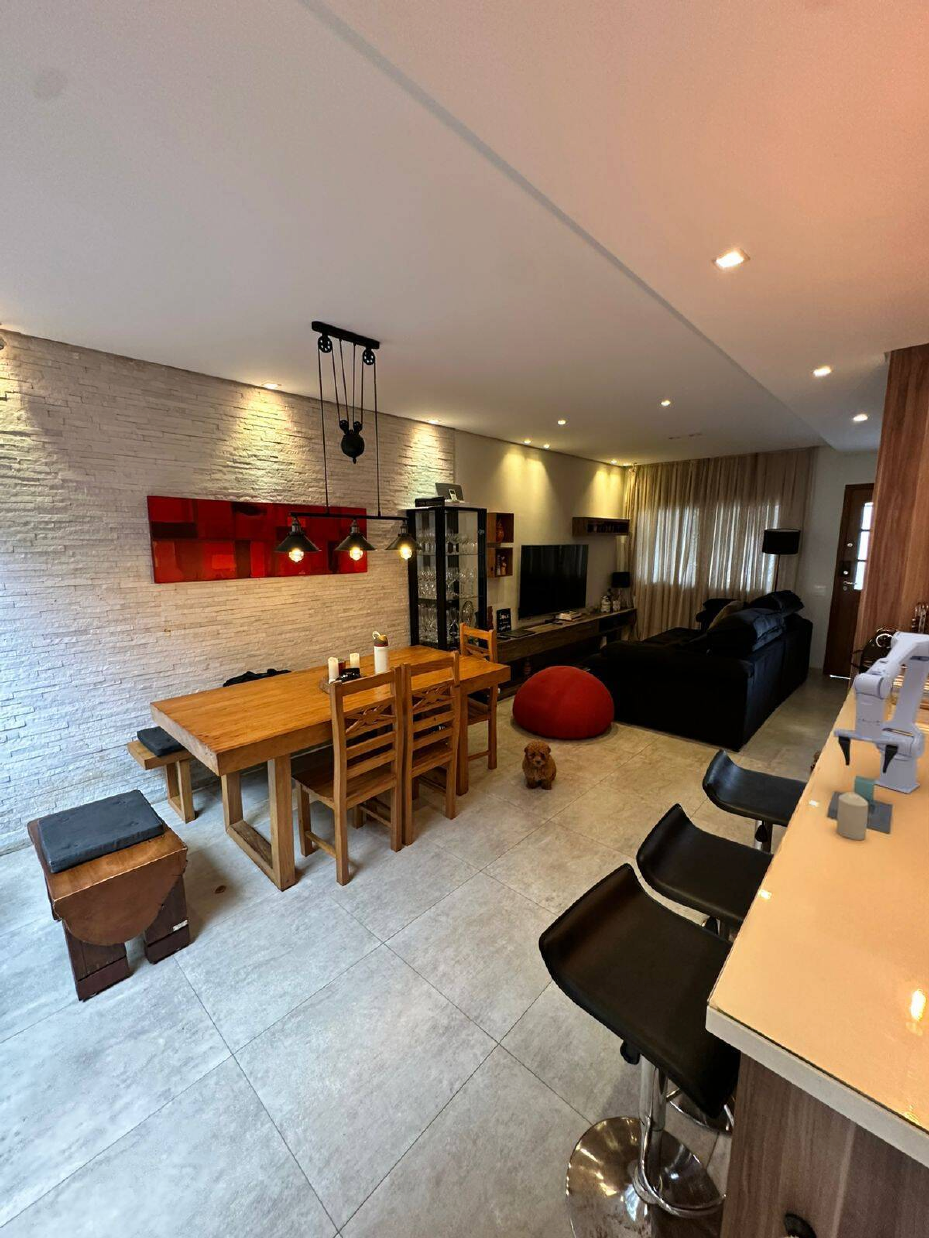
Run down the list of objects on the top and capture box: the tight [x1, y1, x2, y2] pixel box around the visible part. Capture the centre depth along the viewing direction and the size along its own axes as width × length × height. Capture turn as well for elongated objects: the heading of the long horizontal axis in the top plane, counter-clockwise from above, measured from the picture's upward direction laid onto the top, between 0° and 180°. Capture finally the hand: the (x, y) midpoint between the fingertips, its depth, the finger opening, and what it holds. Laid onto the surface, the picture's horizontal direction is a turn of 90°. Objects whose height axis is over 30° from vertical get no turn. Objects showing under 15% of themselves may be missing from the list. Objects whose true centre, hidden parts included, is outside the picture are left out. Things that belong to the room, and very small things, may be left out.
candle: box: [836, 791, 868, 841], centre depth 119 cm, size 6×6×10 cm
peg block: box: [853, 775, 876, 800], centre depth 135 cm, size 4×4×6 cm
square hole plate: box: [827, 790, 893, 834], centre depth 127 cm, size 12×12×2 cm
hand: (865, 768), depth 134 cm, fingers open, 7 cm apart
